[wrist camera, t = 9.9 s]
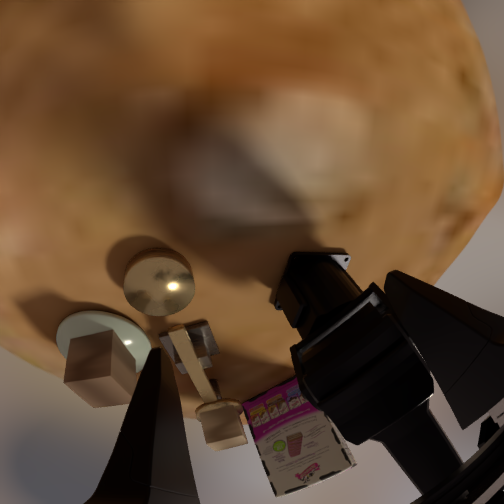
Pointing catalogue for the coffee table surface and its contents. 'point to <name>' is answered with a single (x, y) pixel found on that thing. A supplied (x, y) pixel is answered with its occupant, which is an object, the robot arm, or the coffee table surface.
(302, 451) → the candy bar box
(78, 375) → the walnut block
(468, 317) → the robot arm
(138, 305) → the balance
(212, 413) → the oak block
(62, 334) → the sage dish
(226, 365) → the coffee table surface
